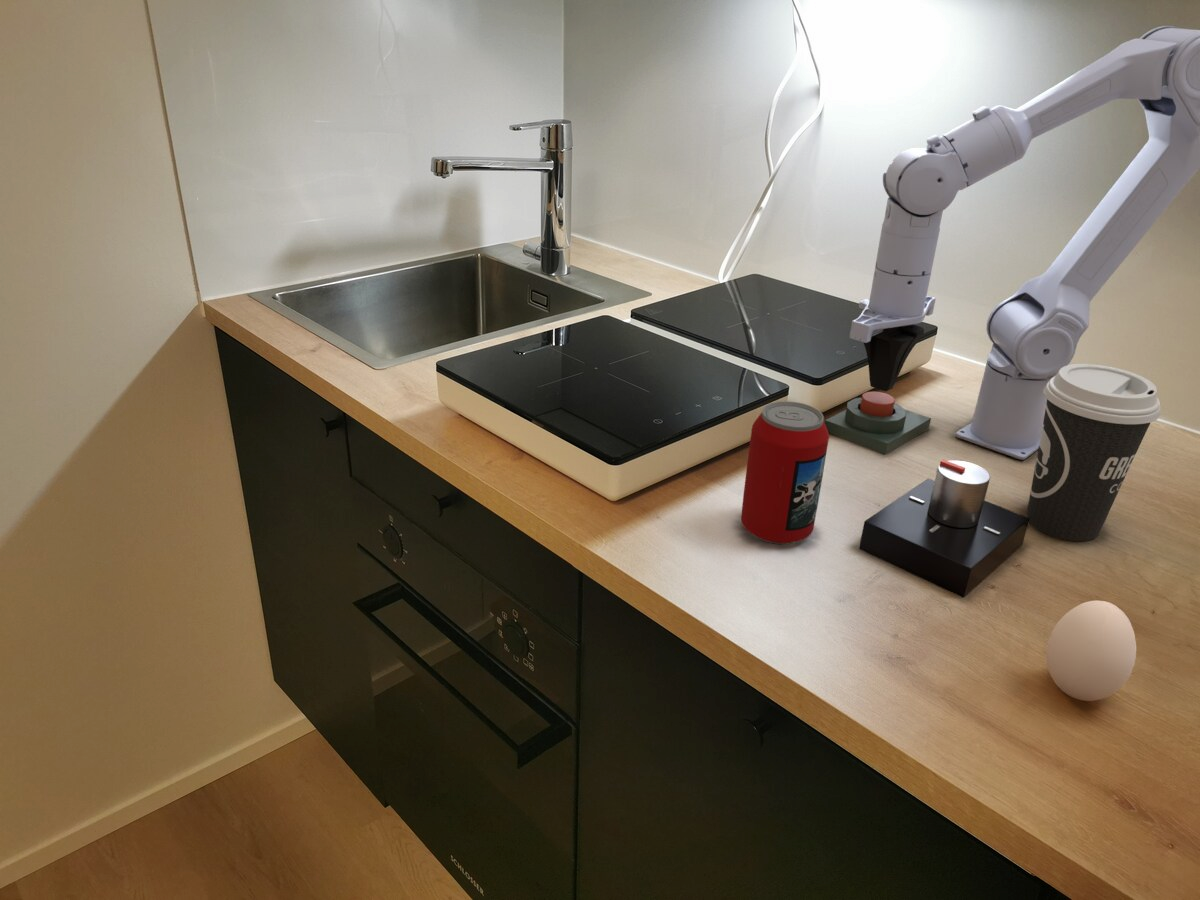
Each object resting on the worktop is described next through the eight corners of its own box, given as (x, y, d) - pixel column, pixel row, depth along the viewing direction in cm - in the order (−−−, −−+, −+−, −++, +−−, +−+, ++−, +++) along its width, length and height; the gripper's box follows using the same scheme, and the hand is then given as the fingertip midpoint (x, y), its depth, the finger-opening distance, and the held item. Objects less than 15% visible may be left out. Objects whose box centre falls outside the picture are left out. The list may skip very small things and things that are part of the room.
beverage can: (812, 554, 81) (833, 434, 76) (737, 544, 82) (751, 425, 77) (812, 516, 87) (831, 402, 82) (741, 507, 88) (755, 394, 83)
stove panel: (922, 504, 90) (928, 476, 89) (1022, 545, 84) (1030, 516, 82) (858, 549, 82) (864, 519, 81) (963, 598, 76) (971, 567, 75)
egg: (1129, 696, 66) (1164, 608, 63) (1099, 731, 63) (1134, 641, 59) (1054, 658, 70) (1083, 572, 66) (1022, 690, 66) (1050, 602, 63)
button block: (868, 407, 111) (872, 384, 110) (928, 429, 106) (934, 405, 105) (823, 430, 104) (826, 407, 103) (885, 455, 100) (890, 430, 98)
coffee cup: (1066, 559, 82) (1115, 408, 75) (988, 508, 90) (1025, 367, 83) (1140, 539, 86) (1193, 393, 79) (1058, 491, 93) (1100, 355, 87)
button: (870, 402, 106) (872, 388, 105) (898, 412, 103) (900, 398, 103) (853, 411, 103) (856, 396, 103) (882, 421, 101) (884, 407, 100)
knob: (987, 516, 82) (999, 469, 80) (965, 533, 80) (977, 486, 77) (941, 497, 85) (952, 452, 83) (919, 514, 82) (929, 467, 80)
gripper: (902, 249, 103) (882, 361, 109) (833, 272, 94) (814, 393, 100) (961, 263, 99) (936, 378, 105) (894, 288, 89) (871, 413, 95)
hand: (881, 387), depth 102 cm, fingers closed
